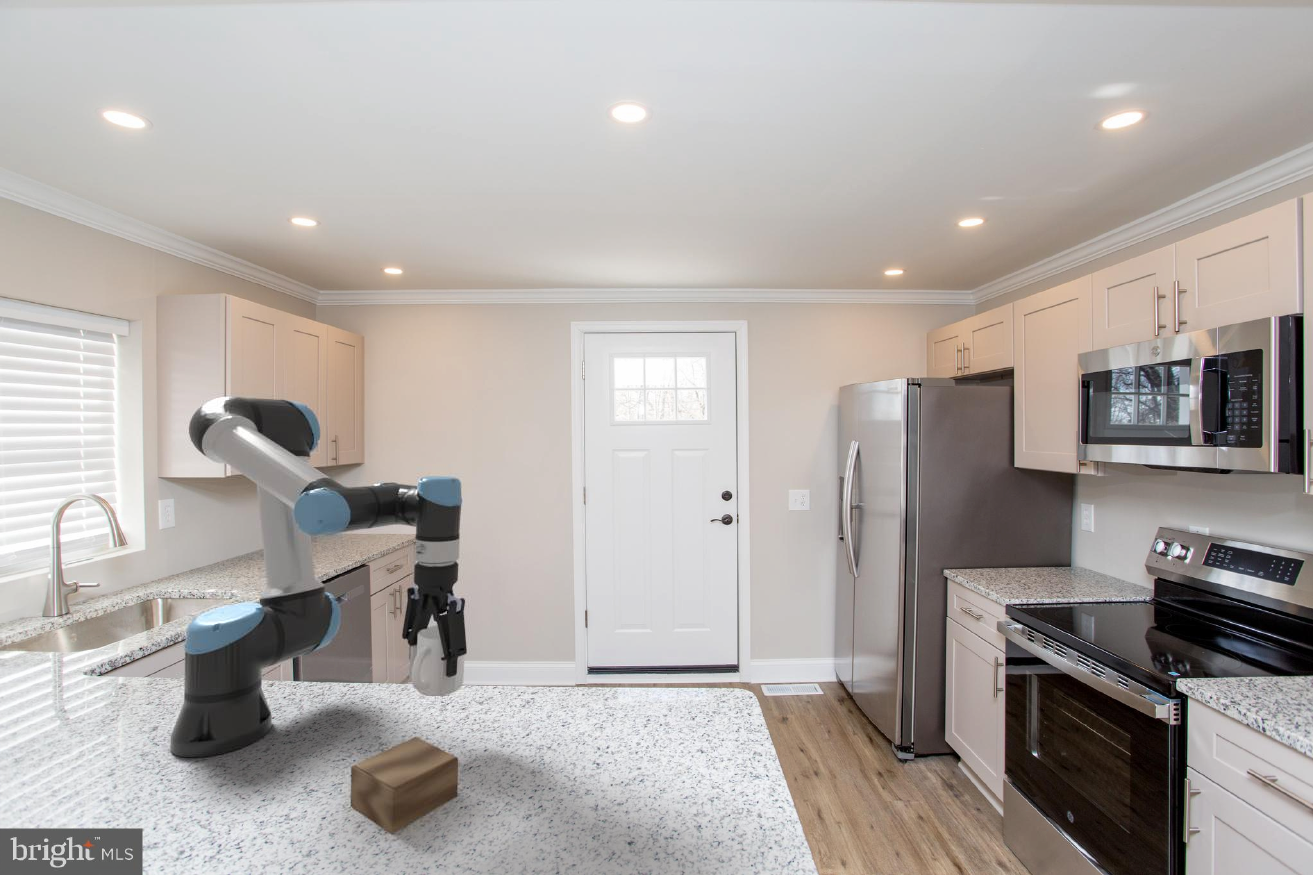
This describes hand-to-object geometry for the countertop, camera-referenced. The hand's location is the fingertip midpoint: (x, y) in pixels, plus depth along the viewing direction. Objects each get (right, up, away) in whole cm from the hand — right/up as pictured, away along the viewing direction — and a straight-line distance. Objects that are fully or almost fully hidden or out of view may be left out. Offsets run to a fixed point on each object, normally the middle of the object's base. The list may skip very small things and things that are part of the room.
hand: (431, 686), depth 107 cm
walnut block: (+2, -11, -16) cm, 19 cm away
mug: (0, -1, 0) cm, 1 cm away
